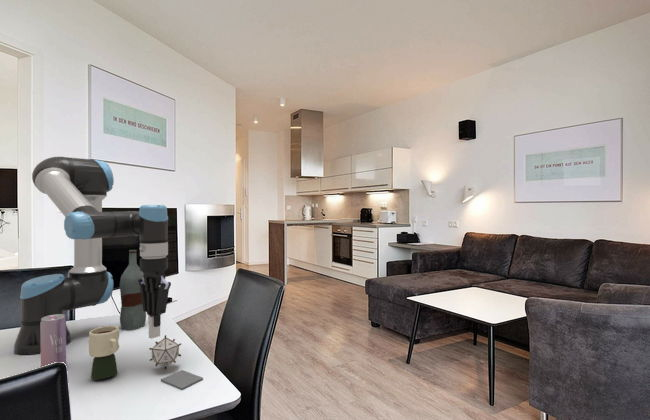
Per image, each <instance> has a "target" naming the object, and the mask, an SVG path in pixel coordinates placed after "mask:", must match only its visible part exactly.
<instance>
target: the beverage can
mask: <svg viewBox="0 0 650 420" xmlns="http://www.w3.org/2000/svg"><path fill="white" fill-rule="evenodd" d="M66 325H67V318H66V315H65V313H64V314H56V315H50V316H46V317H43V318H42V319H41V323H40V336H41V353H40V368H41V367H42V366H45V365H48V364H51V363H54V362H64V363H65V364H66V365H67V345H66Z"/></svg>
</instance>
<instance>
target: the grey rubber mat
mask: <svg viewBox="0 0 650 420" xmlns="http://www.w3.org/2000/svg"><path fill="white" fill-rule="evenodd" d="M201 381H204V377H202V376H199V375H197V374H195V373H194V374H193V373H191V372H189V371H186V370H184V369H181V370H179V371H177V372H174V373H172V374H170V375H167V376H165V377H162V378H160V382H161V383H162V384H163V383H164V384H166V385H168V386H171V387H173V388H175V389H177V390H180V391H183V390H185V389H188V388H189V387H192V386H194V385H195V384H198V383H200V382H201Z"/></svg>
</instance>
